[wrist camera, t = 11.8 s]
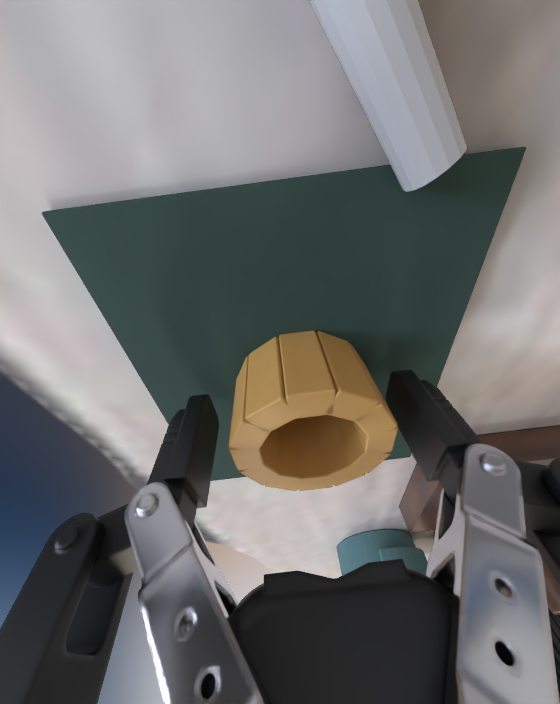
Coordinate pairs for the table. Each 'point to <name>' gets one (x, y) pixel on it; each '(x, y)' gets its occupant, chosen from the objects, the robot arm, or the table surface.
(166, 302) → the desk mat
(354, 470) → the tape roll
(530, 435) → the tape holder
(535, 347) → the table surface
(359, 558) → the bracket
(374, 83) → the pipe joint
